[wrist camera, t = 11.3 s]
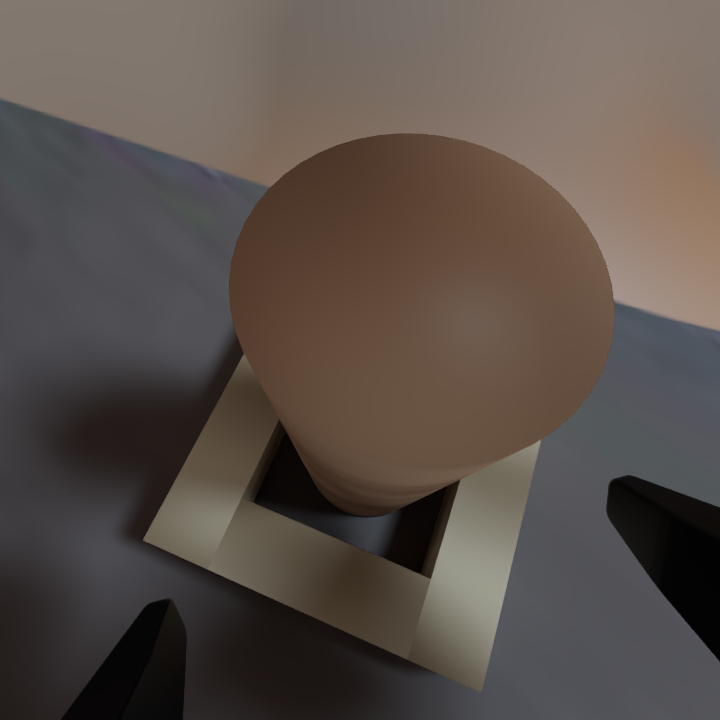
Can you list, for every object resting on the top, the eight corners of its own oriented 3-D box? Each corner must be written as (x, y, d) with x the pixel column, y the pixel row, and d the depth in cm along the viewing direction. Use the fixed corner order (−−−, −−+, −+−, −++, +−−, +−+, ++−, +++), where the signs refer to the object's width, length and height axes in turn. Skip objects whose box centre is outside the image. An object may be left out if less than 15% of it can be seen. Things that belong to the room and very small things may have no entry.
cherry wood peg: (364, 545, 16) (425, 573, 4) (283, 449, 17) (150, 257, 5) (451, 458, 17) (688, 288, 5) (370, 375, 18) (420, 87, 6)
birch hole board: (463, 672, 14) (481, 693, 12) (166, 539, 15) (142, 540, 14) (536, 379, 18) (559, 361, 16) (296, 290, 19) (292, 265, 18)
